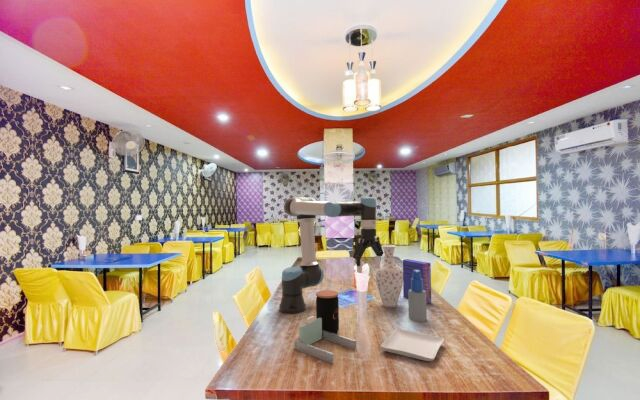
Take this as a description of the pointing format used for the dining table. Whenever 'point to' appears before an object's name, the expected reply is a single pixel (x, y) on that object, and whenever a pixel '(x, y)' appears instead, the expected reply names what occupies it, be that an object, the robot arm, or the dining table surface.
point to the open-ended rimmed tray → (322, 353)
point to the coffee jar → (328, 310)
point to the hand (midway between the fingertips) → (368, 270)
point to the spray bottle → (417, 298)
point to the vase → (389, 278)
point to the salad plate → (413, 344)
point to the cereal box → (425, 275)
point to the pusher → (311, 330)
